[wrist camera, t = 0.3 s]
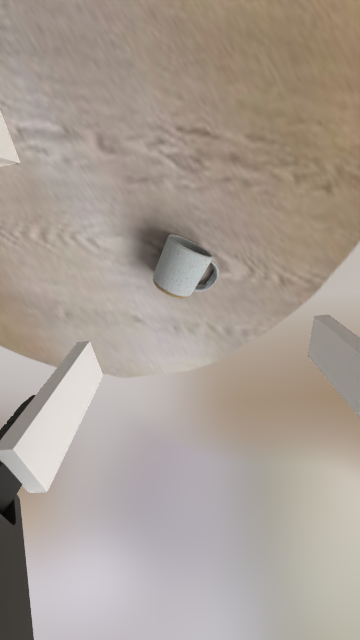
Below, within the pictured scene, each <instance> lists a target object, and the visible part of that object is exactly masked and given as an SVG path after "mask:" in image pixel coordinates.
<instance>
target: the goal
mask: <svg viewBox="0 0 360 640" xmlns="http://www.w3.org/2000/svg"><path fill="white" fill-rule="evenodd" d="M19 163H20V160H19V158H18V155H17V152H16V150H15V147H14V145H13V142H12V139H11V137H10V134H9V131H8V129H7V126H6V124H5V121H4V118H3V116H2V113H1V111H0V167H2V166H8V165H14V164H19Z"/></svg>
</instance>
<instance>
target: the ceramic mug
mask: <svg viewBox="0 0 360 640" xmlns="http://www.w3.org/2000/svg"><path fill="white" fill-rule="evenodd" d="M212 259H213V256H212V255H211V254H210V253H209V252H208V251H207V250H205V249H204V248H202V247H201V246H199V245H197V244H195V243H194V242H192V241H190V240H187V239H185V238H183V237H180V236H178V235H173V234H170V235H169V236H168V238H167V240H166V243H165V246H164V248H163V251H162V253H161V256H160V259H159V261H158V264H157V266H156V269H155V272H154V277H153V281H154V283H155V285H156V286H157V288H158V289H160V290H161V291H162V292H164V293H166V294H167V295H170V296H172V297H176V298H187V297H189V296H190V295H191V294H192V292H193V291H198V292H201V291H206V290H208V289H209V288H211V287H212V286H213V285H214V284H215V282H216V281H217V279H218V276H219V270H218V267H217V265H216V264H215V263H214V262H213V261H212ZM210 263H212V265H213V267H214V271H213V274H212V275H211V277H210V278H209V280H208V281H207V282H206V284H204V285H202V286H197V284H198V283H199V281H200V279H201V277H202V276H203V274H204V273H205V271H206V269H207V268H208V266H209V264H210Z"/></svg>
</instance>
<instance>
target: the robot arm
mask: <svg viewBox="0 0 360 640" xmlns="http://www.w3.org/2000/svg"><path fill="white" fill-rule="evenodd" d="M308 357H309V358H310V359H311V360H312V361H313V362H314V364H315V365H316V366H317V367H318V369H319V370H320V371H321V372H322V373H323V375H324V376H325V377H326V378H327V379H328V381H329V382H330V383H331V384H332V385H333V387H334V388H335V389H336V390H337V391H338V392H339V394H340V395H341V396H342V397H343V399H344V400H345V401H346V402H347V403H348V405H349V406H350V407H351V408H352V409H353V411H354V412H355V413H356V414H357V415H358V417H359V418H360V338H359V337H358V336H357V335H356V334H354V333H353V332H351V331H350V330H349V329H347V328H346V327H345V326H343V325H342V324H341V323H339V322H338V321H337V320H335V319H334V318H332V317H331V316H330V315H321V316H314V322H313V327H312V333H311V340H310V346H309V352H308ZM102 377H103V374H102V371H101V369H100V366H99V364H98V361H97V359H96V356H95V354H94V351H93V348H92V346H91V343H90V341H86V342H78V343H77V344H76V345H75V346H74V348H73V349H72V350H71V351H70V353H69V354H68V355H67V356H66V358H65V359H64V360H63V362H62V363H61V364H60V365H59V367H58V368H57V369H56V370H55V372H54V373H53V374H52V375H51V377H50V378H49V379H48V380H47V382H46V383H45V384H44V386H43V387H42V388H41V389H40V391H39V392H38V394H37V395H33V396H31V397H30V398H29V399H28V400H26V401H25V402H24V403H23V404H21V406H20V407H19V408H18V409H17V410H16V412H15V413H14V415H13V416H11V418H10V419H9V420H8V421H7V424H5V425H4V426H3V427H2V428H1V430H0V640H34V638H33V628H32V618H31V608H30V598H29V588H28V577H27V567H26V557H25V548H24V539H23V528H22V518H21V507H20V500H19V497H18V495H17V492H18V491H19V489H20V487H21V486H23V487H24V488H25V489H26V490H27V491H28V492H29V493H38V492H47V491H48V489H49V487H50V485H51V483H52V481H53V479H54V477H55V475H56V473H57V470H58V468H59V466H60V464H61V462H62V460H63V458H64V456H65V454H66V452H67V450H68V448H69V445H70V444H71V441H72V439H73V437H74V435H75V433H76V431H77V429H78V427H79V425H80V423H81V421H82V419H83V417H84V414H85V412H86V410H87V408H88V406H89V404H90V402H91V400H92V398H93V396H94V394H95V392H96V390H97V388H98V385H99V383H100V381H101V379H102Z"/></svg>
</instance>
